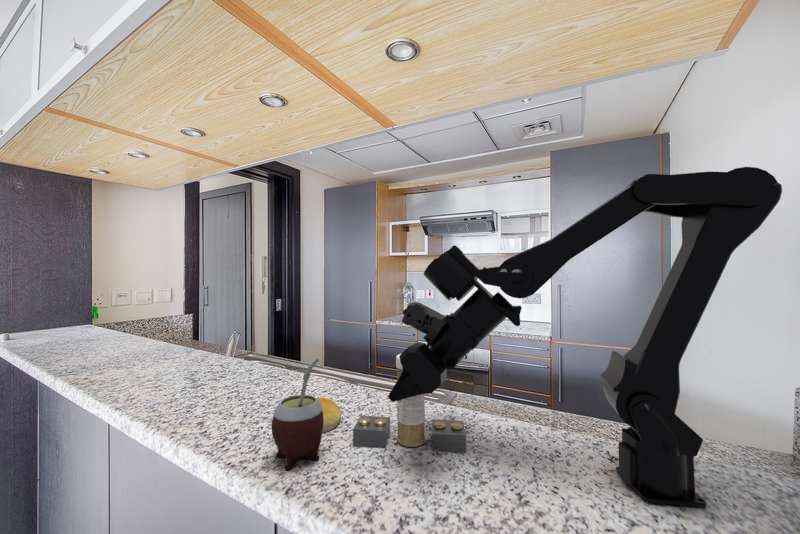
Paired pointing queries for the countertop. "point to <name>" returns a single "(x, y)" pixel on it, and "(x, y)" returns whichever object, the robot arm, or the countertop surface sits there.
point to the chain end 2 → (448, 436)
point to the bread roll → (329, 414)
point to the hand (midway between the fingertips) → (401, 389)
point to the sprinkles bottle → (410, 417)
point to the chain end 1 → (371, 431)
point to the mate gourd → (298, 426)
